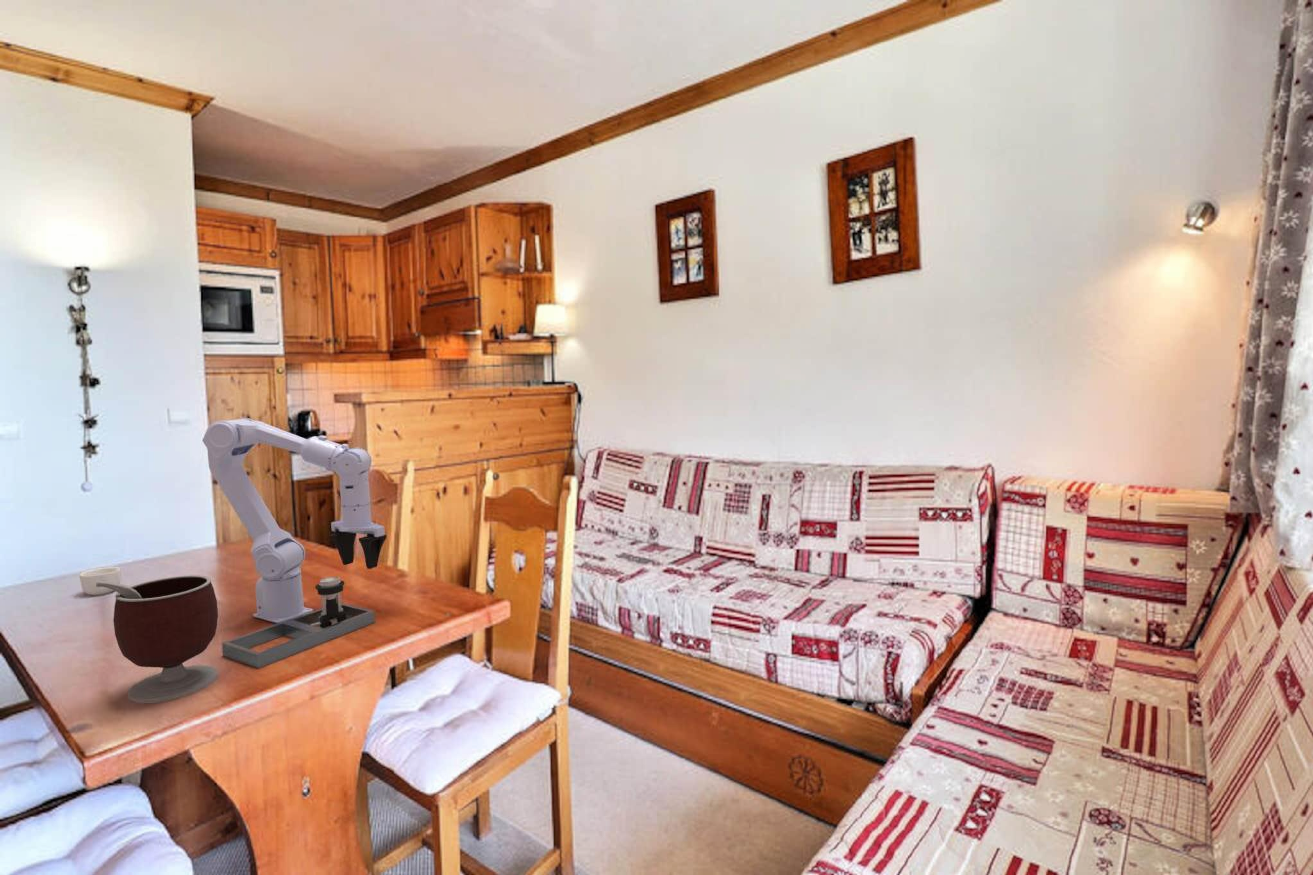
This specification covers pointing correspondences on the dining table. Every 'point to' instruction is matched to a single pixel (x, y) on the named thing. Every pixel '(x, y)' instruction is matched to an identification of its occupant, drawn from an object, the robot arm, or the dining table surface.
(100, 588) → the teacup
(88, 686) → the dining table surface
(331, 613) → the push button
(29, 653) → the dining table surface
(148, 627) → the mate gourd
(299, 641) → the rail frame
